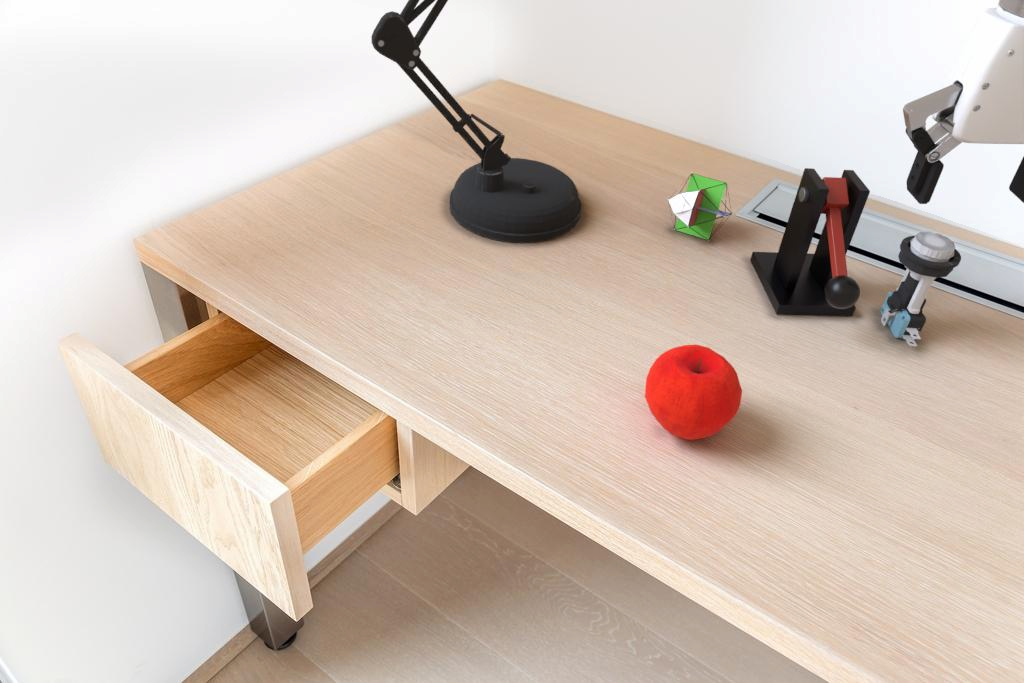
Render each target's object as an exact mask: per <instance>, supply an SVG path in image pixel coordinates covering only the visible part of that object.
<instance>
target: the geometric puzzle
mask: <svg viewBox="0 0 1024 683" xmlns="http://www.w3.org/2000/svg"><path fill="white" fill-rule="evenodd" d="M687 182H688V183H687ZM683 184H684V185H683ZM686 184H687V187H686V191H684V192H682V190H683V189H684V187H685V186H686ZM681 185H683V186H682V188H681V190H680V191H679V193H677V194H676V195H674V196H671V197H669V198H667V201H668V204H669V205H668V206H669V208H670V209H671V210H672V212H671V210H670V213H673V215H674V216H675V217H674V218H675V219H674V220H673V219H671V220H672V222H675V224H673V231H677V232H679V233H684V234H687V235H691V236H693V237H697V238H700V239H703V240H707V241H708V242H710V239H711V238H712V237H713V236H714V234H716V230H720V228H721V227H722V226H723V224H721V223H723V220H724V219H725V218H726V217H727V218H726V219H725V220H724V222H726V221H727V220H728V219H729V218H730V216H732V215H733V212H732V211H731V209H729V208H728V207H727V201H723V200H722V199H723V196H724V193H725V194H728V196H730V194H729V192H728V190H729V187H728V182H726V181H721V180H718V179H714V178H710V177H706V176H703V175H700V174H697V173H693V172H690V174H689V177H687V179H686V180H685V181H683V182H682V183H681ZM676 192H677V190H675V191H674V192H673V194H675V193H676ZM728 199H729V200H728V201H729V202H731V200H730V198H728ZM724 202H725V203H724ZM721 203H722V204H723V205H724V211H723V210H720V206H721ZM731 206H732V205H730V206H729V207H730V208H732V207H731ZM726 210H728V212H727V211H726ZM717 215H719V216H717ZM670 216H671V217H672V214H671V215H670ZM719 219H722V220H721V221H720V223H719V224H718V226H717V227H716V228H715V230H714V231H713V227H714V224H715V222H716V220H719ZM712 231H713V233H712Z"/></svg>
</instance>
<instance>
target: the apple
mask: <svg viewBox="0 0 1024 683" xmlns="http://www.w3.org/2000/svg"><path fill="white" fill-rule="evenodd" d="M644 389H645V390H644V398H645V400H646V403H647V405H648V409H649V411H650V413H651V414H652V416H653V418H655V420H656V421H657V423H659V424H660V426H661V427H662V428H663V429H664V430H665V431H667V432H668V433H670V434H671V435H673V436H676V437H678V438H681V439H684V440H691V441H692V440H693V441H694V440H699V439H703V438H707V437H711V436H713V435H715V434H716V433H719V432H720V431H721V430H722V429H724V428H725V427H726V426H727V424H729V423H730V421H732V420H733V419H734V418H735V417H736V415H737V413H738V412H739V410H740V406H741V405H742V404H741V402H742V394H743V389H742V386H741V383H740V380H739V376H738V372H737V371H736V369H735V367H734V366H733V365H732V364H731V363H730V362H729V361H728V360H727V359H726V358H725V357H724V356H723V355H721V354H719V353H718V352H717V351H715V350H713V349H711V348H710V347H708V346H704V345H698V344H685V345H680V346H676V347H673V348H670V349H667V350H666V351H664V352H662V353H661V354H660V355H659V356H658V357H657V358H655V360H654V362H653V363H652V365H651V366H650V368H649V371H648V373H647V376H646V379H645V388H644Z"/></svg>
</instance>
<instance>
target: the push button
mask: <svg viewBox="0 0 1024 683" xmlns="http://www.w3.org/2000/svg"><path fill="white" fill-rule="evenodd" d="M899 248H900V251H899V253H898V261H899V262H900V263H901V264H902V265H903V266H904V268H906V269H905V272H904V274H903V276H902V278H901V280H900V283H899V285H898V286H897V288H896V290H893V291H889V292H888V293H887V295H886V297H885V300H884V302H883V305H882V306H881V308H880V314H881V315H882V316H881V319H880V322H881V324H882V326H883V327H885V326H886V325H887V326H888V328H889V329H890V331H891V333H892V335H893V337H894V338H895V339H903V340H905V341H906V343H907V345H908V346H909V347H918V344H917V343H916V341H915V340H921V339H922V337H921V336H920V334H919V332H921V331H922V330H923V328H924V326H925V324H926V322H927V317H926V315H925V314H924V313H923V310H924V308H925V305H926V303H927V299H926V297H927V295H928V293H929V291H930V288H931V287H932V284H933V282H934V281H935V280H936V279H939V278H947V277H948V276H949V275H950V274H951V272H952V271H953V270H954V268H956V267H958V266H959V265H960V262H961V261H962V256H961V253H960V252H959V251H958V250H957V249H956V244H955V242H954V241H953V240H952V239H950V237H947V236H945V235H944V234H941V233H938V232H934V231H919V232H917V233H916V234H915V235H909V236H906V237H905V238H903V239H902V241H901V242H900V244H899Z"/></svg>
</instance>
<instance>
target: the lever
mask: <svg viewBox="0 0 1024 683" xmlns="http://www.w3.org/2000/svg"><path fill="white" fill-rule="evenodd" d="M821 179H822V180H823V182H824V183H825V184H826V186H827V187H828V189H829V192H828V195H827V198H826V201H825V204H824V207H823V209H822V212H821V215H822V214H823V215H825V222H826V223H827V232H828V241H829V250H830V259H831V269H832V279H830V280H829V281H828V282H827V284H826V285H825V288H824V297H825V300H826V301H827V303H828V304H829V305H831V306H832V307H834V308H838V309H846V308H849V307H851V306H853V305H855V304H856V303H857V302H858V300H859V299H860V296H861V287H860V285H859V283H858V282H857V280H856V279H854V278H853V277H851V276H849V274H848V266H847V265H848V264H847V256H846V255H847V254H846V255H845V247H844V238H843V229H842V220H841V211H842V210H843V209H844V208H845V207H846V206H847V205H848V204H849V199H848V191H847V182H846V178H841V177H835V176H834V177H833V176H831V177H829V176H824V177H823V178H821Z"/></svg>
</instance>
